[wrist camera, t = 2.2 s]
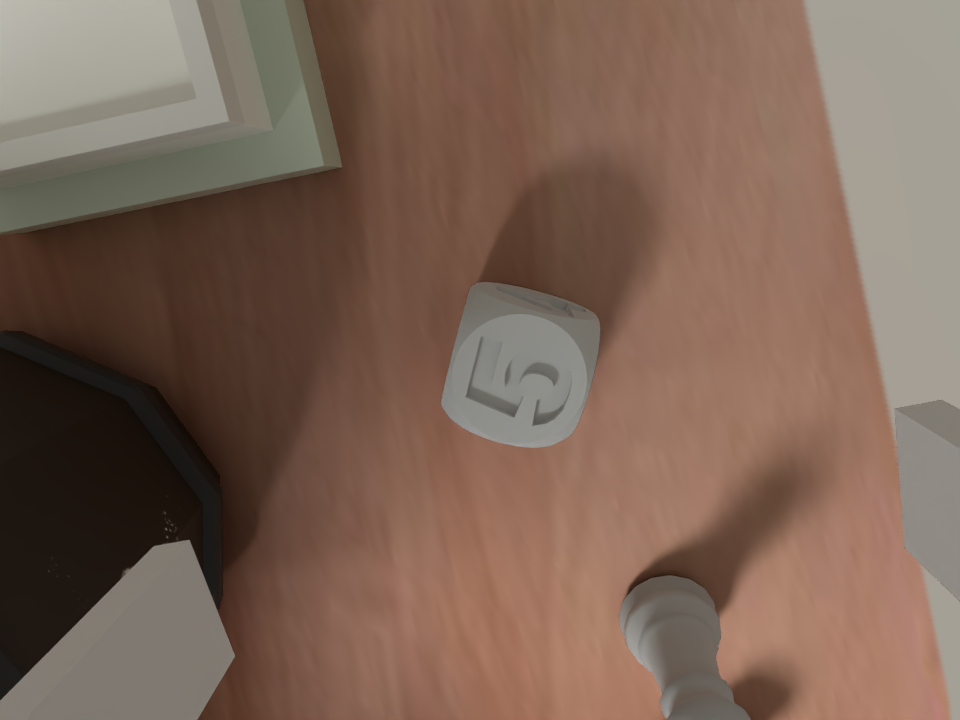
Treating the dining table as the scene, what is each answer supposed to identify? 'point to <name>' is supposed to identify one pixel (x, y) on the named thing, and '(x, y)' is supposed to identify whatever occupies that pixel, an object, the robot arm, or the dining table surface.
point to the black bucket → (87, 493)
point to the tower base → (216, 163)
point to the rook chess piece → (679, 647)
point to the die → (521, 365)
